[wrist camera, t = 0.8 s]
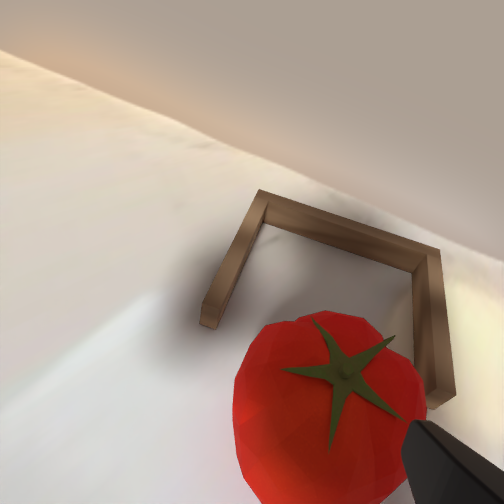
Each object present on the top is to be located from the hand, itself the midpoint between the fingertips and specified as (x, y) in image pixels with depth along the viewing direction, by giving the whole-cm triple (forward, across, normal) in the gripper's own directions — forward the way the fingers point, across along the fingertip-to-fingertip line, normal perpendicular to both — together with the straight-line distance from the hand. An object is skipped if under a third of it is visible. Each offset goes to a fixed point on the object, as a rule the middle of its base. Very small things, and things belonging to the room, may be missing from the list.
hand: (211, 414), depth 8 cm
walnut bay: (+20, -9, +4) cm, 22 cm away
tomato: (+11, -6, +10) cm, 16 cm away
